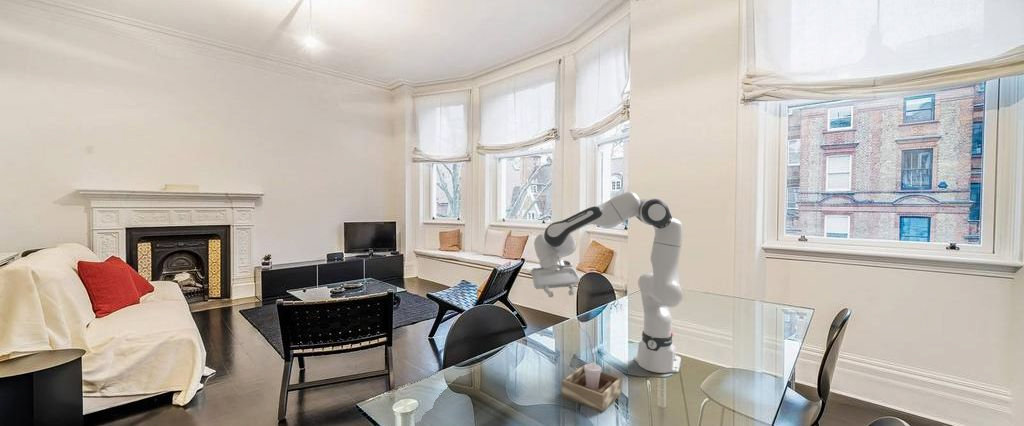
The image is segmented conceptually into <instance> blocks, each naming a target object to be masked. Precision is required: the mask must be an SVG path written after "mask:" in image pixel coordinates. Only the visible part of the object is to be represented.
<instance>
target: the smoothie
mask: <svg viewBox="0 0 1024 426" xmlns="http://www.w3.org/2000/svg"><path fill="white" fill-rule="evenodd" d="M583 366H584V370H585V377H586V387H588V388H591V389H594V390H597V391H598V385H599V379H600V373H601V372H603V369H602V366H600V365H599V364H597V363H596V355H595V354H594V355H593V363H592V362H591V363H585V364H584V365H583Z"/></svg>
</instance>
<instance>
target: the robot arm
mask: <svg viewBox="0 0 1024 426" xmlns="http://www.w3.org/2000/svg"><path fill="white" fill-rule="evenodd" d="M634 217H635V218H637V219H638V220H639V221H640V222H641V223H644V224H646V225H649V226H652V227H653V229H654V238H653V243H652V248H651V252H650V253H651V254H650V263H651V266H652V272H645V273H643V274H641V275H640V276H639V277H638V281H637V286H638V288H639V291H640V296H641V301H642V302H641V303H642V307H643V330H642V334H641V341H639V342H638V346H637V355H636V356H634V357H633V360H634V361H635V362H636V363H637V364H638V366H639V367H640V368H642V369H643V370H646V371H649V372H652V373H657V374H658V373H659V374H668V373H679V372H680V367H681V362H682V358H681V356H679V355H677V353H676V352H677V348H676V345H674V343H673V336H674V332H673V331H672V323H673V322H672V319H673V318H672V313H671V311H670V309H669V308H676V307H677V306H679V305H680V304H681V302H682V301H683V298H684V292H683V289H682V287H681V284H680V276H679V261H680V255H681V250H682V243H683V233H684V232H683V223H682V222H681V221H680V220H679V219H677V218H675V217H672V213H671V212H670V209H669V206H668V204H667V203H666V202H664V201H663V200H662V199H658V198H647V199H641V198H640V197H639V196H638V195H637V194H636V193H635V192H634V191H631V190H630V191H625V192H622V193H620V194H618V195H615V196H614V197H612V198H610V199H609V200H607V201H606V202H603V203H601V204H599V205H596V206H592V207H591V206H590V207H588V208H586V209H584V210H582V211H580V212H579V211H578V213H575V214H573V215H572V216H569V217H567V218H565V219H562V220H560V221H554V222H552V223H550V224H549V225H548V226H547V227H546V228H545V231H544V232H542V233H540V234H538V235H537V236H536V237H535V238H534V242H533V245H534V250H535V254H536V257H537V259H538V261H539V266H540V267H537V268H536V267H534V268H532V269H531V270H530V275H531V277H532V282H533V286H534V288H535V289H536V290H543V291H544V292H545V293H546V294H547V296H548V298H554V293H553V291H551V290H550V289H557V288H558V289H559V288H568V289H569V291H568V294H569V296H574V295H575V292H574V287H577V286H578V285H579V283H580V282H581V280H580V276H579V274H578V273H577V270H576V269H575V268H574V267H573V263H572V261H568V260H565V259H562V258H564V257H568V256H570V255H572V254H573V253H574V252H576V249H577V241H576V239H575V238H574V236H573V235H572V233H574V232H576V231H578V230H580V229H582V228H584V227H587V226H589V225H590V226H591V225H595V226H599V227H600V228H603V229H612V228H615V227H617V226H619V225H621V224H622V223H624V222H625V221H627V220H629V219H630V218H634Z"/></svg>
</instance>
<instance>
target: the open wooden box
mask: <svg viewBox="0 0 1024 426" xmlns="http://www.w3.org/2000/svg"><path fill="white" fill-rule="evenodd" d="M622 389H623V378H622V377H619V376H617V375H613V374H610V373H607V372H604V371H602V372H601V373H600V379H599V385H598V391H597V390H594V389H591V388H588V387H586V377H585V370H584V365H582V366H580V367H579V368H577V369H576V370H574V371H573V372H572V373H571V374H569V375H568V376H567V377H565V378H564V379H562V380H561V398H563V399H566V400H569V401H572V402H574V403H577V404H579V405H582V406H584V407H587V408H589V409H591V410H594V411H597V412H599V411H600V413H602V412H603V413H604V412H605V411H606V410H607V409H608V408H609V407H610V406H611V405H613V403H614V402H615V401H616V400H617V399H618V398H619V397H620V396H621V395H622V391H623V390H622Z"/></svg>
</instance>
